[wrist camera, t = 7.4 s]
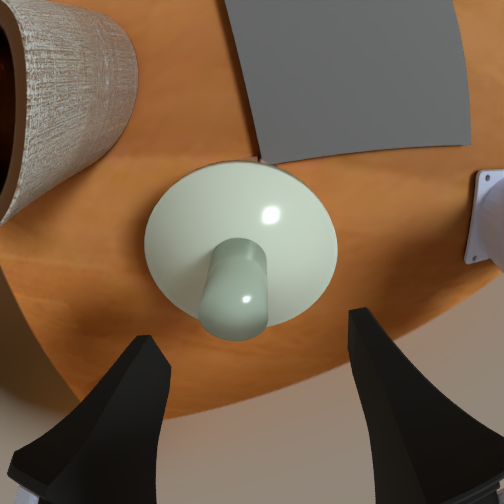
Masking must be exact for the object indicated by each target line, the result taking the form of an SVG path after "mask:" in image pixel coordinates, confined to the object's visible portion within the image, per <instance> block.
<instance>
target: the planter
mask: <svg viewBox="0 0 504 504" xmlns="http://www.w3.org/2000/svg"><path fill="white" fill-rule="evenodd" d="M137 90H138V62H137V57H136V53H135V50H134V47H133V44H132V42H131V40H130V38H129V36H128V35H127V33H126V32H125V31H124V30H123V28H122V27H121V26H120V25H119V24H118V23H116V22H115V21H114V20H112V19H111V18H109V17H108V16H106V15H104V14H101V13H99V12H95V11H92V10H88V9H84V8H80V7H76V6H71V5H67V4H62V3H56V2H51V1H45V0H0V227H1V226H2V225H3V224H4V223H6V222H7V221H8V220H9V219H11V218H12V217H13V216H14V215H16V214H17V213H18V212H19V211H21V210H22V209H23V208H25V207H26V206H27V205H29V204H30V203H32V202H33V201H34V200H36V199H37V198H39V197H40V196H42V195H43V194H44V193H46V192H47V191H49V190H50V189H52V188H54V187H55V186H57V185H58V184H60V183H61V182H63V181H65V180H66V179H68V178H70V177H71V176H73V175H74V174H76V173H78V172H79V171H81V170H83V169H84V168H86V167H88V166H89V165H91V164H93V163H94V162H96V161H97V160H98V159H100V158H101V157H102V156H103V155H104V154H105V153H106V152H107V151H108V150H109V149H110V148H111V147H112V146H113V145H114V144H115V143H116V141H117V140H118V139H119V137H120V136H121V134H122V133H123V131H124V129H125V127H126V125H127V123H128V121H129V119H130V117H131V114H132V111H133V108H134V105H135V101H136V96H137Z"/></svg>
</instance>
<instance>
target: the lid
mask: <svg viewBox="0 0 504 504" xmlns="http://www.w3.org/2000/svg"><path fill="white" fill-rule="evenodd" d="M144 250H145V257H146V262H147V265H148V268H149V271H150V273H151V275H152V277H153V280H154V281H155V283H156V284H157V286H158V288H159V289H160V290H161V291H162V293H163V294H164V295H165V296H166V297H167V298H168V299H169V300H170V301H171V302H172V303H173V304H174V305H175V306H177V307H178V308H179V309H181V310H182V311H184V312H185V313H187V314H188V315H190V316H192V317H194V318H196V319H198V320H199V321H200V323H201V325H202V326H203V328H204V329H205V330H206V331H208V332H209V333H210V334H212V335H214V336H216V337H218V338H221V339H224V340H229V341H243V340H248V339H251V338H253V337H255V336H257V335H259V334H260V333H261V332H262V331H263V330H264V329H265V328H266V327H269V326H274V325H277V324H280V323H283V322H285V321H287V320H290V319H292V318H294V317H296V316H297V315H299V314H301V313H302V312H304V311H305V310H306V309H308V308H309V307H310V306H311V305H312V304H313V303H314V302H316V301H317V300H318V298H319V297H320V296H321V295H322V293H323V292H324V291H325V289H326V288H327V286H328V284H329V283H330V281H331V278H332V276H333V273H334V270H335V266H336V262H337V252H338V250H337V238H336V234H335V229H334V227H333V224H332V222H331V219H330V217H329V215H328V213H327V211H326V209H325V207H324V205H323V204H322V202H321V200H320V199H319V198H318V197H317V196H316V194H315V193H314V192H313V191H312V190H311V189H310V188H309V187H308V186H307V185H306V184H305V183H304V182H302V181H301V180H299V179H298V178H297V177H295V176H294V175H292V174H290V173H288V172H286V171H284V170H282V169H280V168H278V167H275V166H272V165H269V164H266V163H261V162H255V161H246V160H231V161H221V162H217V163H212V164H208V165H206V166H203V167H200V168H198V169H195V170H194V171H192V172H190V173H188V174H186V175H185V176H183V177H182V178H181V179H179V180H178V181H177V182H175V183H174V184H173V185H172V186H171V187H170V188H169V189H168V190H167V191H166V192H165V194H164V195H163V196H162V198H161V199H160V200H159V202H158V203H157V205H156V206H155V207H154V209H153V211H152V213H151V215H150V217H149V220H148V224H147V227H146V231H145V239H144Z"/></svg>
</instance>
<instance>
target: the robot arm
mask: <svg viewBox="0 0 504 504" xmlns="http://www.w3.org/2000/svg"><path fill="white" fill-rule="evenodd" d="M486 176H487V178H486ZM485 178H486V179H485ZM487 259H491V260H492V261H493V262H494V263H495V264H496V265H497V266H498V268H499V269H500V270H501V271H502V272H503V273H504V169H493V170H480V171H479V172H478V173H477V175H476V183H475V194H474V202H473V210H472V217H471V224H470V230H469V236H468V241H467V247H466V251H465V256H464V261H465V263H466V264H472V263H476V262H479V261H483V260H487ZM348 352H349V357H350V363H351V368H352V373H353V376H354V380H355V384H356V387H357V390H358V394H359V397H360V401H361V404H362V408H363V411H364V415H365V419H366V422H367V427H368V431H369V437H370V444H371V451H372V460H373V469H374V480H375V495H376V496H375V497H376V504H504V488H503V489H501V490H499V491H496V490H497V489H499V488H500V483H499V481H500V480H502V479H504V437H503V436H501V435H499V434H498V433H496V432H494V431H493V430H491V429H489V428H487V427H486V426H485V425H483V424H481V423H480V422H479V421H477V420H476V419H474V418H473V417H471V416H470V415H469V414H467V413H466V412H465V411H463V410H462V409H461V408H460V407H458V406H457V405H456V404H454V403H453V402H452V401H451V400H450V399H448V398H447V397H446V396H445V395H444V394H442V393H441V392H440V391H439V390H438V389H437V388H436V387H435V386H434V385H433V384H432V383H431V382H430V381H429V380H428V379H426V378H425V377H424V376H423V374H422V373H421V372H420V371H419V370H418V369H417V368H416V367H415V366H414V365H413V364H412V363H411V362H410V361H409V360H408V358H407V357H406V356H405V355H404V354H403V353H402V352H401V350H400V349H399V348H398V347H397V346H396V344H395V343H394V342H393V341H392V340H391V338H390V337H389V336H388V335H387V333H386V332H385V331H384V329H383V328H382V327H381V326H380V324H379V323H378V322H377V320H376V319H375V317H374V316H373V315H372V313H371V312H370V310H369V309H368V308H366V307H364V308H359V309H354V310H349V319H348ZM170 378H171V366H170V364H169V363H168V361H167V360H166V358H165V357H164V355H163V354H162V352H161V351H160V349H159V348H158V346H157V345H156V343H155V341H154V340H153V338H152V337H151V335H141V336H137V337H136V338H135V339H134V340H133V341H132V342H131V343H130V345H129V346H128V347H127V348H126V349H125V351H124V352H123V353H122V354H121V356H120V357H119V358H118V359H117V361H116V362H115V363H114V364H113V366H112V367H111V368H110V369H109V371H108V372H107V373H106V374H105V376H104V377H103V378H102V379H101V380H100V382H99V383H98V384H97V385H96V386H95V387H94V389H93V390H92V391H91V392H90V393H89V394H88V395H87V397H86V398H85V399H84V400H83V401H82V402H81V403H80V404H79V405H78V406H77V407H76V408H75V409H74V410H73V411H72V412H71V413H70V414H69V415H68V416H66V417H65V418H64V419H63V420H62V421H60V422H59V423H58V424H57V425H56V426H54V427H53V428H52V429H51V430H49V431H48V432H47V433H45V434H44V435H43V436H41V437H40V438H38V439H36V440H35V441H33V442H32V443H30V444H28V445H26V446H24V447H23V448H21V449H19V450H17V451H15V452H14V454H13V457H12V460H11V463H10V466H9V469H8V472H7V475H8V476H9V477H10V478H11V479H13V480H14V481H15V482H17V483H18V484H20V485H22V486H23V487H22V486H19V487H18V491H17V495H16V498H15V502H14V504H157V503H156V458H157V445H158V440H159V434H160V430H161V425H162V421H163V416H164V412H165V407H166V403H167V398H168V394H169V388H170ZM24 487H25V488H24Z"/></svg>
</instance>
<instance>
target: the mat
mask: <svg viewBox="0 0 504 504" xmlns="http://www.w3.org/2000/svg"><path fill="white" fill-rule="evenodd" d="M225 4H226V8H227V12H228V15H229V19H230V23H231V27H232V31H233V35H234V39H235V43H236V47H237V51H238V55H239V60H240V64H241V68H242V72H243V76H244V81H245V85H246V89H247V93H248V98H249V102H250V107H251V111H252V115H253V120H254V124H255V129H256V134H257V138H258V143H259V147H260V152H261V157H262V160H263V161H265V162H266V163H268V164H269V165H272V164H278V163H283V162H289V161H296V160H302V159H309V158H315V157H322V156H330V155H337V154H345V153H354V152H363V151H372V150H383V149H394V148H407V147H423V146H444V145H471V126H470V103H469V90H468V80H467V72H466V64H465V58H464V51H463V46H462V40H461V35H460V31H459V26H458V22H457V18H456V14H455V10H454V6H453V3H452V0H225Z"/></svg>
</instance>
